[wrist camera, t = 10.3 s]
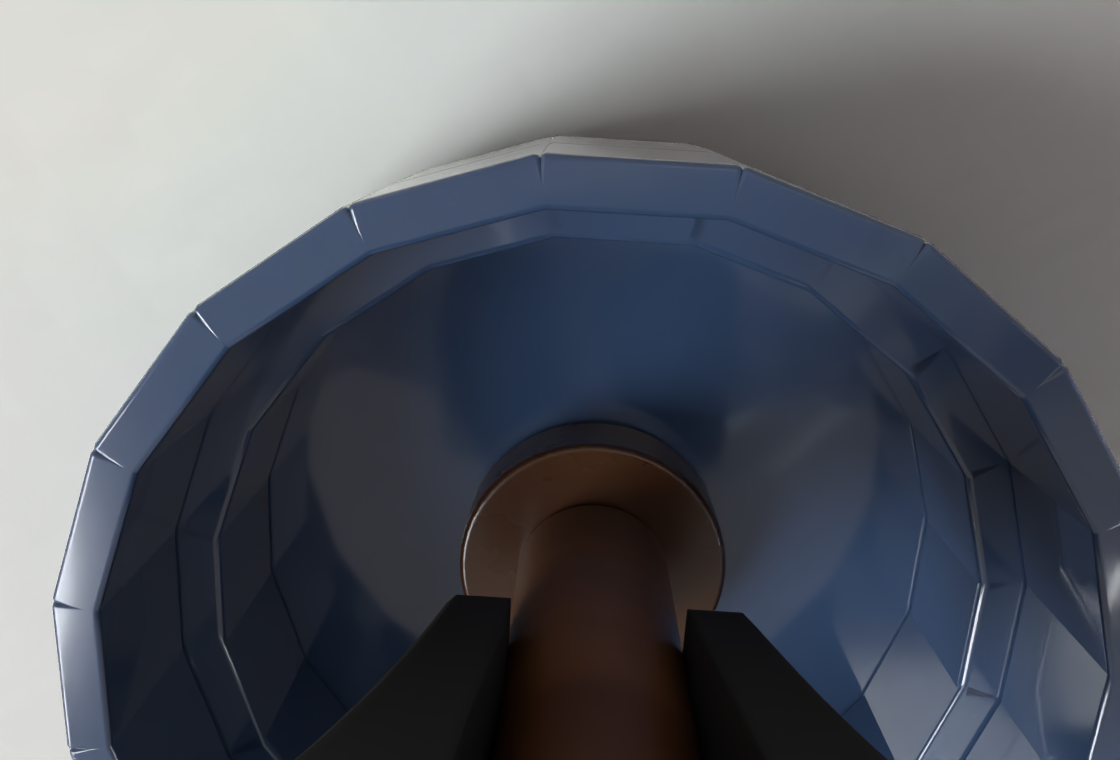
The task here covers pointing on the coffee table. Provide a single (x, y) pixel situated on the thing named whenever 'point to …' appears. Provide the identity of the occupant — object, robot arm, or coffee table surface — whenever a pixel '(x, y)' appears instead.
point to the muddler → (594, 591)
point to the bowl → (598, 397)
